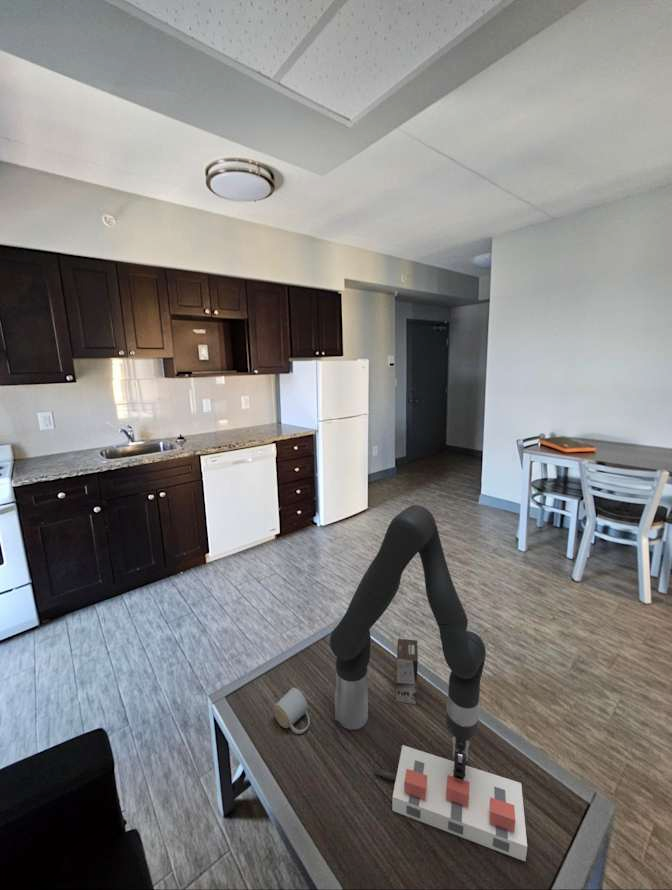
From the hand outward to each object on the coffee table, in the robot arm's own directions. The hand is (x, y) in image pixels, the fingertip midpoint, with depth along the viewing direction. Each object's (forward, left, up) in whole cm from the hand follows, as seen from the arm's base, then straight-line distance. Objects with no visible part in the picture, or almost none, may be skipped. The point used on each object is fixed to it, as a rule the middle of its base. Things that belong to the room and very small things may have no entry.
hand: (459, 761), depth 97 cm
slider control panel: (-3, -6, -6) cm, 9 cm away
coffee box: (-17, +22, -6) cm, 29 cm away
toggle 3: (+9, -9, -1) cm, 13 cm away
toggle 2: (0, -7, -1) cm, 8 cm away
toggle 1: (-10, -9, -1) cm, 13 cm away
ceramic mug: (-47, +1, -6) cm, 48 cm away
